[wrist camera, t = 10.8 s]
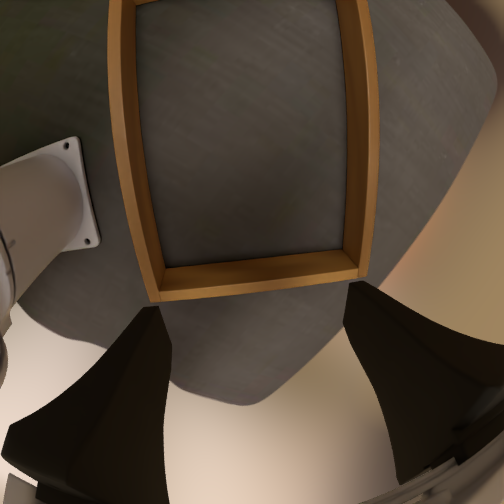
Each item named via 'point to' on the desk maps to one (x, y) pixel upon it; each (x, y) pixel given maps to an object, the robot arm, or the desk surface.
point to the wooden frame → (264, 269)
